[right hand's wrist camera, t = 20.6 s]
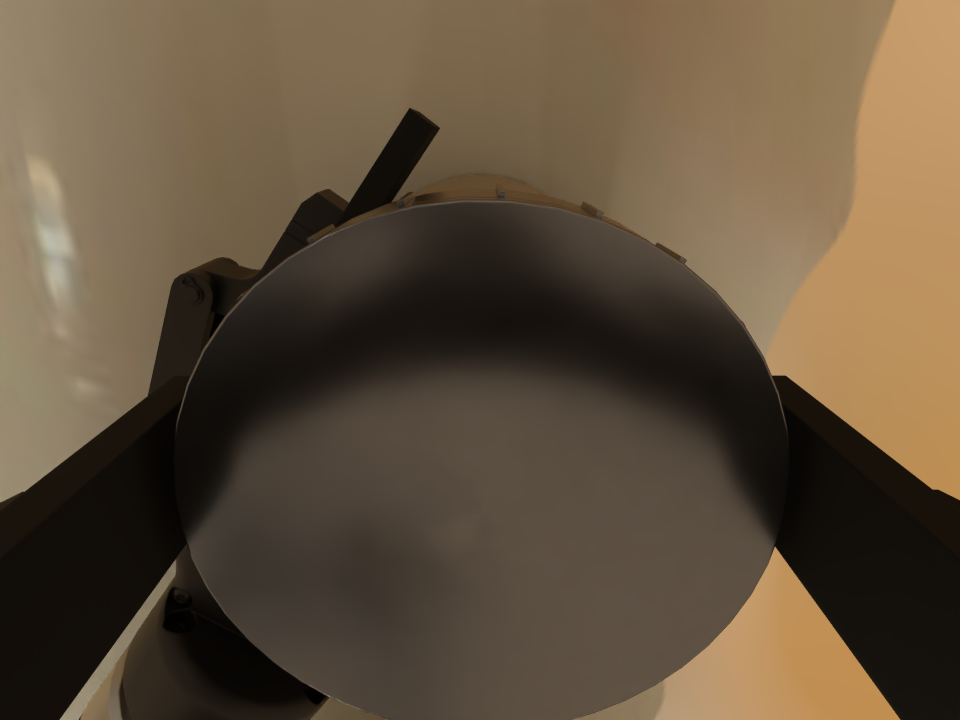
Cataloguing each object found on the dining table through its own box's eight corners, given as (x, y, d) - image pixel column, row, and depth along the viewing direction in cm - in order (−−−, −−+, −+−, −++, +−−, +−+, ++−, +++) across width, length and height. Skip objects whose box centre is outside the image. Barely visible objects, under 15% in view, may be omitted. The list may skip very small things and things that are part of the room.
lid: (849, 300, 11) (923, 333, 9) (612, 702, 14) (631, 784, 13) (285, 89, 10) (240, 78, 8) (176, 585, 13) (127, 657, 11)
